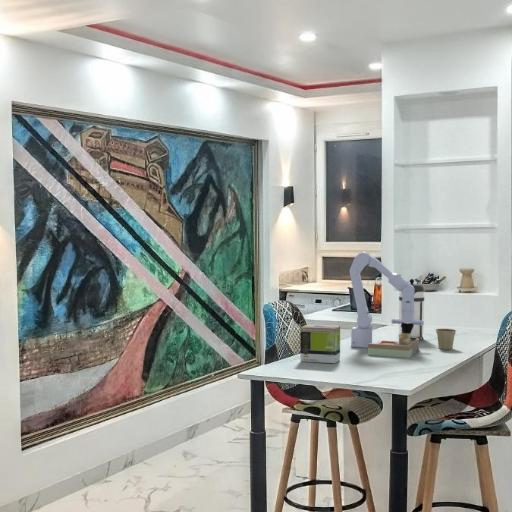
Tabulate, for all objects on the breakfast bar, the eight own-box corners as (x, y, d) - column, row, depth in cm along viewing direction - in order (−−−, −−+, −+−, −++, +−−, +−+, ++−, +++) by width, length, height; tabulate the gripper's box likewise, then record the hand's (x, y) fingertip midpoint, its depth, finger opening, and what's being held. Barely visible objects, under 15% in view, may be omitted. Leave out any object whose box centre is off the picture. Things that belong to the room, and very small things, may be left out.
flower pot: (456, 350, 361) (456, 331, 360) (435, 349, 362) (435, 331, 362) (455, 347, 370) (455, 329, 369) (434, 346, 372) (435, 328, 371)
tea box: (340, 360, 333) (340, 325, 332) (334, 364, 324) (335, 328, 323) (306, 358, 338) (306, 323, 337) (299, 361, 329) (299, 326, 328)
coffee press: (433, 339, 394) (435, 279, 393) (411, 341, 385) (412, 280, 384) (408, 335, 409) (409, 277, 407) (386, 337, 400) (387, 278, 398)
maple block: (398, 344, 359) (399, 334, 358) (400, 342, 363) (400, 332, 363) (408, 344, 357) (409, 334, 357) (410, 343, 361) (410, 333, 361)
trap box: (368, 354, 347) (368, 343, 347) (379, 346, 369) (380, 336, 369) (409, 357, 340) (409, 346, 340) (418, 349, 363) (418, 338, 362)
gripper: (425, 310, 366) (424, 339, 366) (393, 309, 371) (393, 337, 372) (422, 312, 359) (421, 341, 360) (390, 310, 365) (390, 339, 365)
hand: (407, 339), depth 365 cm, fingers closed
